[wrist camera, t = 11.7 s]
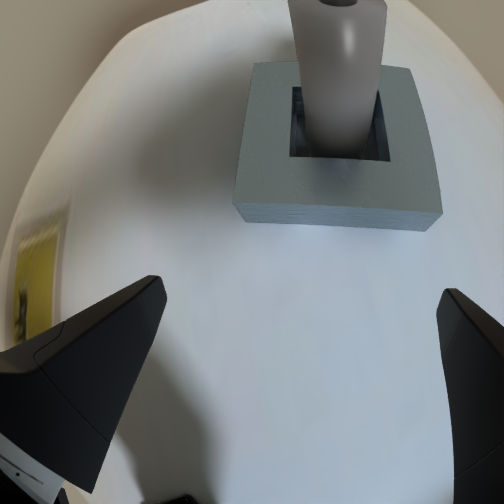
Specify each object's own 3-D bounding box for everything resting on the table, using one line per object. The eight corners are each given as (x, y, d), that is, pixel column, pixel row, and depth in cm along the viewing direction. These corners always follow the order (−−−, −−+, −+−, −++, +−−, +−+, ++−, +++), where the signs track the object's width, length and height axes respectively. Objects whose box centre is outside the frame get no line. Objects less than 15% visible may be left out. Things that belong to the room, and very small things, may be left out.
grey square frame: (424, 231, 18) (442, 213, 15) (245, 222, 21) (232, 203, 18) (403, 95, 21) (409, 68, 18) (262, 90, 24) (254, 63, 21)
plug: (336, 183, 20) (341, -11, 6) (296, 145, 22) (258, -34, 8) (376, 151, 20) (408, -27, 6) (336, 117, 22) (330, -52, 8)
